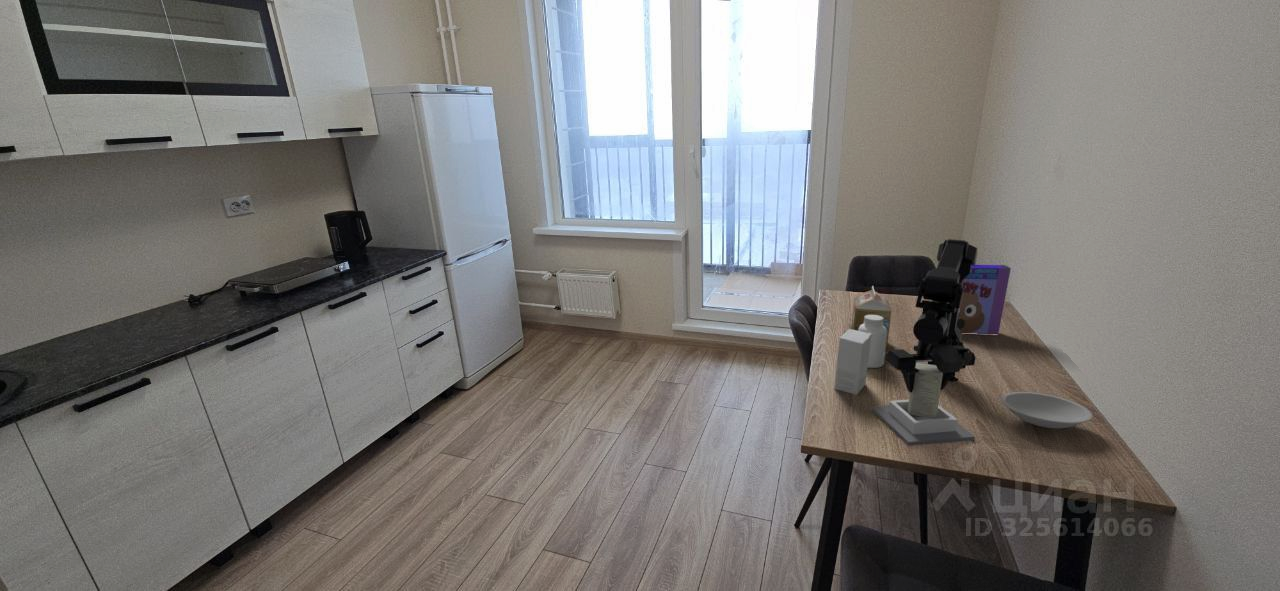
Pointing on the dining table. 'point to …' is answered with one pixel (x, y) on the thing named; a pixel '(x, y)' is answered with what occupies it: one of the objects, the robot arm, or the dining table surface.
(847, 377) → the skincare box
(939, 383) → the skincare box
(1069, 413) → the dish
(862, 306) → the milk carton
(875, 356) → the pill bottle
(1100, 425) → the dining table surface
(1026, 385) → the dining table surface
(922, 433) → the socket stand
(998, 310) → the cereal box
